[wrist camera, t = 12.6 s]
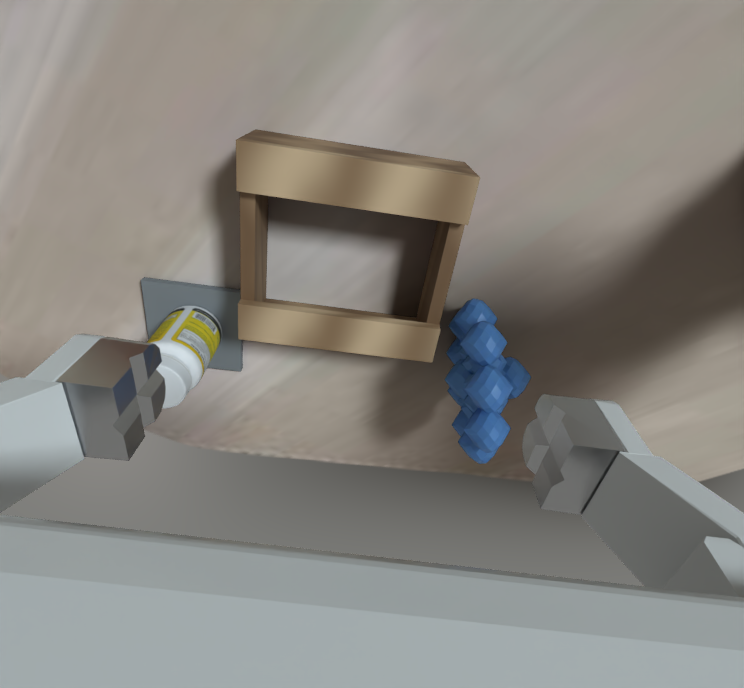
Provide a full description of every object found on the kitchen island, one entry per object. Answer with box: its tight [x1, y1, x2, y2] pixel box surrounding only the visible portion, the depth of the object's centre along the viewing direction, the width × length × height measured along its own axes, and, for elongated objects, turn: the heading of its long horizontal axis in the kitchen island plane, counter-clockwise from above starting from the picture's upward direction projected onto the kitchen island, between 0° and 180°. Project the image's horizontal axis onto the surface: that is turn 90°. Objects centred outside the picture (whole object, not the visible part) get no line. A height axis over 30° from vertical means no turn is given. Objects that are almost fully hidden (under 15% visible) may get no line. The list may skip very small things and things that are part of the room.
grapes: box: [445, 299, 531, 464], centre depth 35 cm, size 12×7×12 cm, turn 2°
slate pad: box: [141, 277, 243, 371], centre depth 39 cm, size 8×8×1 cm
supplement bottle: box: [147, 306, 222, 408], centre depth 35 cm, size 5×5×8 cm
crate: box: [236, 130, 480, 363], centre depth 33 cm, size 15×14×5 cm
